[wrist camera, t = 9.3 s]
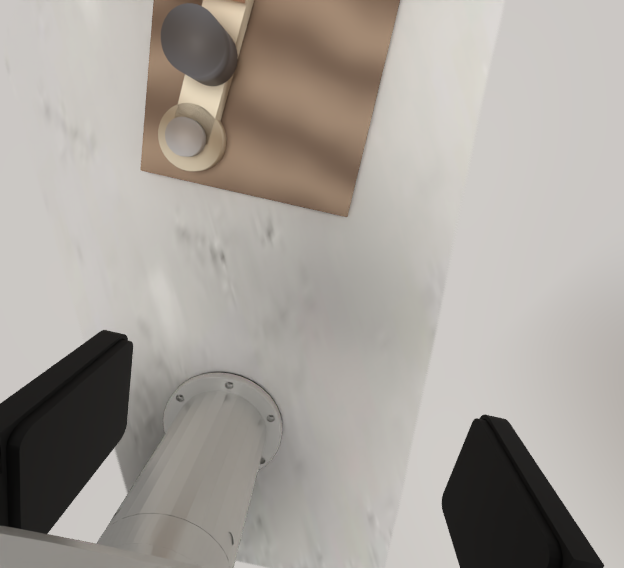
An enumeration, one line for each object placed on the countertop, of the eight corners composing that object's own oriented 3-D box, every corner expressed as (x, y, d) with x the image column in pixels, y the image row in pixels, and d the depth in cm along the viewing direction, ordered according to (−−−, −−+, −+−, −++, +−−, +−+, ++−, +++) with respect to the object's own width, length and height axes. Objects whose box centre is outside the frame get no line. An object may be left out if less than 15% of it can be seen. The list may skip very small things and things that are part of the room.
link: (216, 179, 33) (194, 183, 28) (159, 157, 32) (125, 157, 27) (272, -13, 28) (257, -53, 23) (207, -41, 28) (177, -87, 23)
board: (346, 214, 35) (348, 222, 30) (148, 169, 35) (121, 171, 30) (423, -103, 28) (440, -153, 23) (176, -161, 28) (146, -222, 23)
